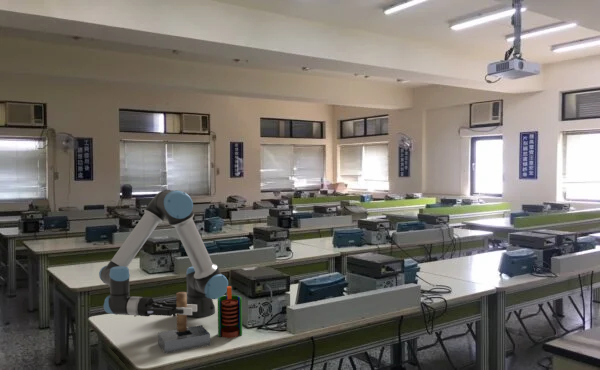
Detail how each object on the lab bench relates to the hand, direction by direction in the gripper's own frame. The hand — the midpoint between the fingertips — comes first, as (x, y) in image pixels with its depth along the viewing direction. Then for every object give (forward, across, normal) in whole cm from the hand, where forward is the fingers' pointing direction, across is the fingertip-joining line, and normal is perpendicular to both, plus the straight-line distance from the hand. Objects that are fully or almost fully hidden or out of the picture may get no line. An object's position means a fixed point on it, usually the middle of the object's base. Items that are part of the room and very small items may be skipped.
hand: (194, 309), depth 193 cm
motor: (+9, -15, -14) cm, 23 cm away
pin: (-5, 0, -8) cm, 10 cm away
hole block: (-5, -1, -14) cm, 15 cm away
